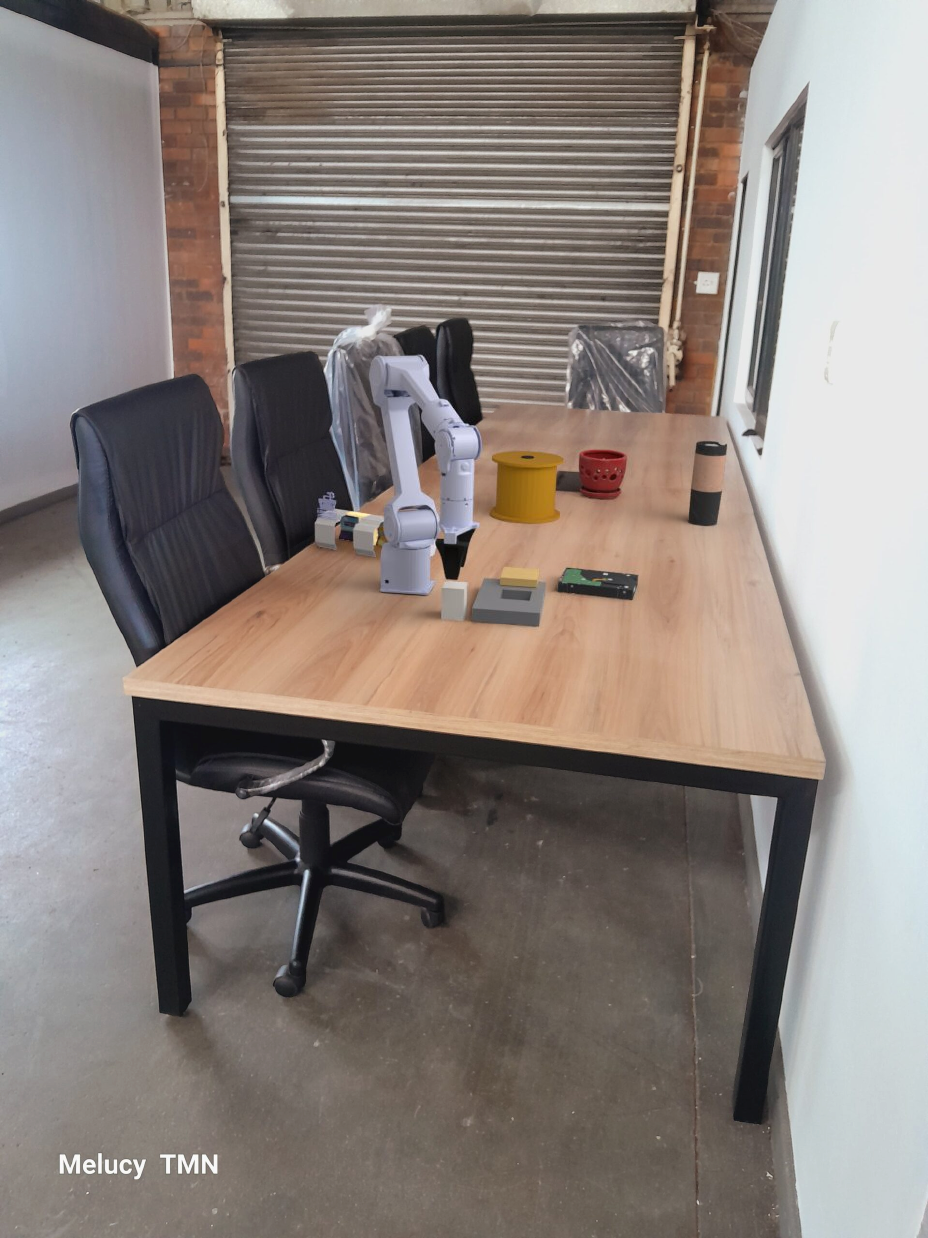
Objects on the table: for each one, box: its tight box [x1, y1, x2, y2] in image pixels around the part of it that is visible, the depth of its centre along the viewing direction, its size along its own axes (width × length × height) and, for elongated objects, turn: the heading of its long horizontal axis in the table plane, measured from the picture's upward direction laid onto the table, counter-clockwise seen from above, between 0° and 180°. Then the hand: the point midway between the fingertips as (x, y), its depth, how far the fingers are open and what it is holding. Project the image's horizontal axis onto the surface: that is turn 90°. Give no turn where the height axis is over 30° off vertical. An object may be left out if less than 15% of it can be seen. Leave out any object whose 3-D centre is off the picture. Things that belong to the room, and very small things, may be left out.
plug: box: [440, 580, 468, 622], centre depth 171 cm, size 4×4×6 cm
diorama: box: [314, 491, 437, 558], centre depth 208 cm, size 25×10×13 cm, turn 63°
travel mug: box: [688, 440, 728, 527], centre depth 239 cm, size 8×8×20 cm
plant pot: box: [578, 448, 628, 500], centre depth 266 cm, size 13×13×12 cm
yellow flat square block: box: [499, 566, 540, 588], centre depth 184 cm, size 7×7×2 cm
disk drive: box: [556, 567, 639, 601], centre depth 189 cm, size 10×3×15 cm
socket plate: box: [471, 577, 547, 627], centre depth 177 cm, size 12×18×2 cm, turn 172°
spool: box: [489, 450, 564, 524], centre depth 242 cm, size 18×18×15 cm
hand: (455, 572), depth 169 cm, fingers open, 7 cm apart
